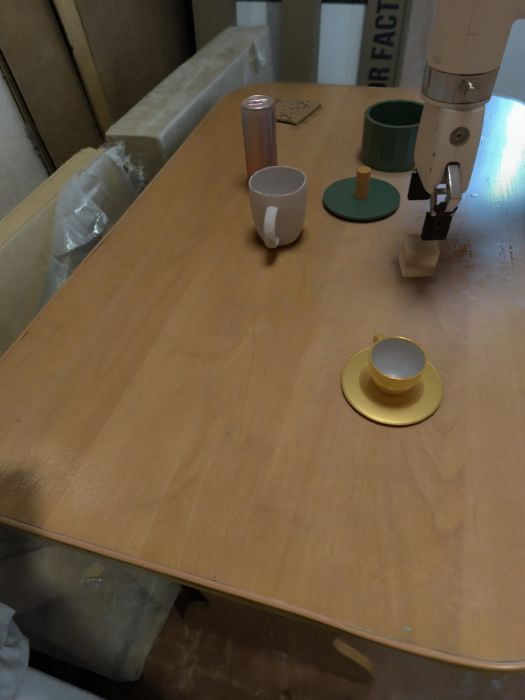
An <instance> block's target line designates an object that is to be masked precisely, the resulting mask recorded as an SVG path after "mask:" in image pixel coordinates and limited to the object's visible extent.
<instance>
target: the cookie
mask: <svg viewBox="0 0 525 700" xmlns="http://www.w3.org/2000/svg"><path fill="white" fill-rule="evenodd" d="M273 100H274V105H275V112H276V119H277V120H276V122H282V123H289V124H292V125H295V126H297V125H299V124H300V123H301V122H303V121H304V120H306V118H308V117H309V116H310V115H312V114H313V113H314V112H315V111H316V110H318V109H319V108H321V107H322V104H321V103H320V102H317V101H313V100H307V99H300V98H295V97H291V96H289V95H287V96H286V95H285V96H284V95H279V96H277V97H275V98H273ZM279 120H280V121H279Z"/></svg>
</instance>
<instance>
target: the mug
mask: <svg viewBox="0 0 525 700" xmlns="http://www.w3.org/2000/svg"><path fill="white" fill-rule="evenodd" d="M248 195H249V197H248V198H249V206H250V210H251V216H252V220H253V223H254V224H253V225H254V226H255V229H256V231H257V234H258V236H259V237H260V239H261V240H262V241H263V242H264V245H265V247H266V248H269V249H275V248H277V247H278V246H286V245H290V244H292V243H293V242H295V241H296V240H297V239H298V238H299V236H300V234H301V232H302V231H303V226H304V222H305V218H306V212H307V204H308V203H307V202H308V201H307V199H308V183H307V175H306V174H305V173H304V172H303V171H302V170H300V169H298V168H296V167H293V166H288V165H278V166H272V167H266V168H263V169H261V170H259V171H257V172H256V173H255V174H254V175H252V176H251V178H250V180H249V183H248Z"/></svg>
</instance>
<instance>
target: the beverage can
mask: <svg viewBox="0 0 525 700" xmlns="http://www.w3.org/2000/svg"><path fill="white" fill-rule="evenodd" d="M240 106H241V107H240V116H241V127H242V138H243V146H244V147H243V148H244V158H245V166H246V167H245V168H246V176H247V183H248V184H249V180H250V178H251V176H252V175H254V174H255V173H256V172H257V171H259V170H261V169H263V168H266V167H272V166H279V160H278V159H279V158H278V157H279V156H278V137H277V136H278V135H277V121H276V112H275V105H274V98H272V97H271V96H269V95H262V94H258V95H257V94H256V95H251V96H248V97H246V98H244V99H242V101H241V103H240Z"/></svg>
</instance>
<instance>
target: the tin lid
mask: <svg viewBox="0 0 525 700" xmlns="http://www.w3.org/2000/svg"><path fill="white" fill-rule="evenodd" d="M355 175H356V176H353V177H346V178H342V179H339V180H337V181H334V182H333V183H331V184H329V185H328V186H327V187H326V188H325V190H324V191H323V195H322V201H323V204H324V206H325V208H326V209H327V210H328V211H330V212H331V213H332V214H334V215H336V216H338V217H340V218H344V219H348V220H355V221H372V220H377V219H381V218H384V217H386V216H388V215H389V216H390V215H391V214H392V213H394V212H395V211H396V210H397V209H398V207H399V206H400V203H401V194H400V191H399V190H398V189H397V188H396V187H395V186H394V185H393V184H392V183H390V182H388V181H385V180H383V179H380V178H375V177H371V175H372V168H370V167H368V166H367V165H362V166H361V165H360V166H359V167H357V168H356V174H355Z"/></svg>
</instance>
